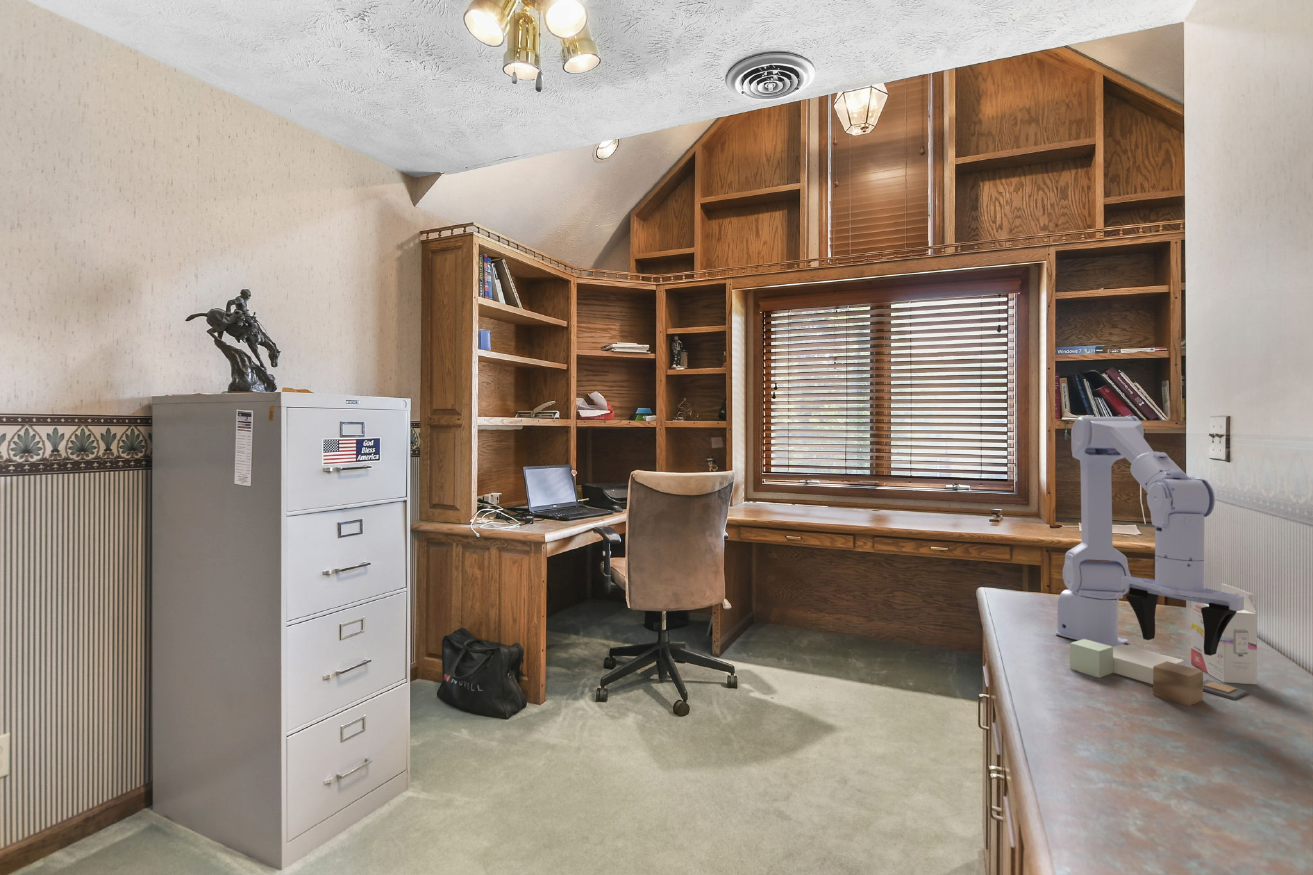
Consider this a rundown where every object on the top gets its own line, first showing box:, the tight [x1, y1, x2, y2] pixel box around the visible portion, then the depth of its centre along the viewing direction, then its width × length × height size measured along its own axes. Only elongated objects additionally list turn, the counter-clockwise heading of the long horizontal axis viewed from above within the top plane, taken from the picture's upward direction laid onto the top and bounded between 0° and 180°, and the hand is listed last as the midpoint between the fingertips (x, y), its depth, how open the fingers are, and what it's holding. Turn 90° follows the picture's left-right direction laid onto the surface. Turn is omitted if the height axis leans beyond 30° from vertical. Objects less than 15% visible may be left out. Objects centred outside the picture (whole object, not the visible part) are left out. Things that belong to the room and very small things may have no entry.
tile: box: [1203, 679, 1249, 701], centre depth 96 cm, size 5×5×1 cm
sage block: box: [1069, 639, 1113, 679], centre depth 104 cm, size 4×4×4 cm
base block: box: [1112, 643, 1185, 685], centre depth 104 cm, size 9×9×3 cm
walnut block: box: [1152, 661, 1204, 707], centre depth 94 cm, size 4×4×4 cm
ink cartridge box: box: [1190, 582, 1258, 685], centre depth 103 cm, size 9×5×15 cm, turn 168°
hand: (1178, 646), depth 94 cm, fingers open, 7 cm apart
